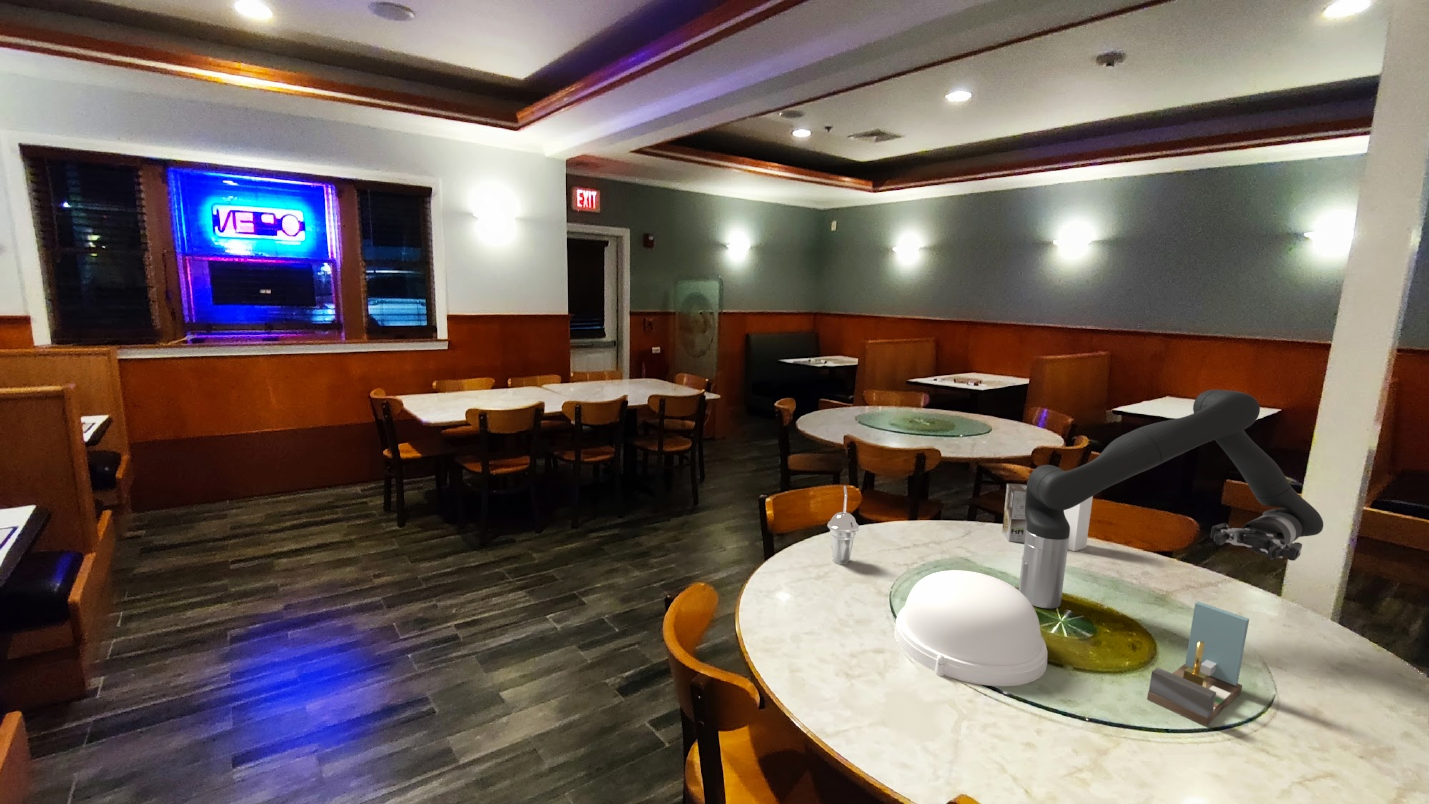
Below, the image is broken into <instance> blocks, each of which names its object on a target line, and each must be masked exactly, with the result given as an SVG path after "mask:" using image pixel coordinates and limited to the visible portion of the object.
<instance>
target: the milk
mask: <svg viewBox="0 0 1429 804" xmlns="http://www.w3.org/2000/svg"><path fill="white" fill-rule="evenodd" d="M1093 497H1094V495H1093V496H1092V497H1090V498H1088V499H1087V500H1085V501H1083V502H1082V503H1080V504H1078V505H1076V506H1074V507H1072V508H1070V509H1066V510H1064V514H1065V517H1066V519H1067V521H1068V523H1069V525H1070V535H1069V543H1068V550H1069V551H1072V552H1077V551H1082V550H1084V549H1086V548H1087V542H1088V534H1089V527H1090V520H1091V515H1092V514H1091V513H1092V505H1093V499H1094V498H1093Z"/></svg>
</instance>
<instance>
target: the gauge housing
mask: <svg viewBox="0 0 1429 804" xmlns="http://www.w3.org/2000/svg"><path fill="white" fill-rule="evenodd" d="M1187 668H1188V666H1186V665H1185V663H1184V664H1182V665H1181V666H1180V667H1179V668H1177V669H1176V670H1175V671H1174V672H1172V673H1171V672H1169V671H1168V670H1165V669H1163V668H1160V667H1159V666H1158V667H1156V668H1154V669H1153V670H1152V671H1151V675H1150V682H1149V688H1148V692H1147V698H1146V700H1148V701H1150V702H1152V703H1154V704H1156V705H1158V706H1160V707H1162V708H1165V709H1167V710H1169V711H1171V712H1173V713H1176V714H1178V715H1180V716H1182V717H1184V718H1186V719H1188V720H1191V721H1192V722H1195V723H1197V724H1199V725H1201V726H1204V727H1207V725H1209V723H1211V722H1212V721H1213V720H1214V719H1215V718H1216V717H1217V716H1218V715H1219V714H1220V713H1221V712H1222V711H1224V709H1225V708H1227V707H1228V705H1230V704H1231V703H1232V702H1233V701H1234V700H1235V699H1236V698H1237V697H1238V696H1239V695H1240V694H1241V693H1242V690H1243V685H1242V684H1240V683H1239V682H1238V683H1237V684H1236V685H1232V684H1230V683H1227V682H1225V681H1223V680H1220V679H1218V678H1215V677H1213V676H1208V677H1207V683H1206V687H1203V686H1200V685H1198V684H1196V683H1193V682H1191V681H1189V680H1186V679H1184V678H1183V676H1184V670H1185V669H1187ZM1190 668H1191V667H1190ZM1192 669H1193V668H1192ZM1231 701H1232V702H1231Z"/></svg>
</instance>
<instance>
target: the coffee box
mask: <svg viewBox="0 0 1429 804" xmlns="http://www.w3.org/2000/svg"><path fill="white" fill-rule="evenodd" d="M1026 488H1027V484H1022V483H1006V490H1005V491H1006V492H1005V502H1004V511H1003V520H1002V531H1001V532H1002V533H1003V535H1004V536H1005V538H1006V539H1007V540H1008V542H1013V543H1014V542H1015V543H1022V544H1025V536H1026V527H1027V522H1026V518H1025V500H1026Z"/></svg>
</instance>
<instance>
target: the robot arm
mask: <svg viewBox="0 0 1429 804" xmlns="http://www.w3.org/2000/svg"><path fill="white" fill-rule="evenodd" d="M1192 411H1193V413H1191V414H1189V415H1188V414H1187V415H1186V416H1182V417H1178V418H1173V419H1168V420H1163V421H1159V422H1154V423H1150V424H1148V425H1143V426H1141V427H1138V428H1136V429H1134V430H1131V431H1130V432H1127V433H1125V434H1122V435H1121V436H1119V437H1117V438H1115V439H1114V440H1113V441H1111V442H1110V443H1108V445H1107V446H1106V447H1105V448H1104V449H1103V450H1102V452H1100V454H1098V456H1097V457H1096V458H1095V459H1092V460H1091V461H1089V462H1087V463H1085V464H1082V465H1080V466H1078V467H1075V468H1073V469H1070V470H1064V469H1062V468H1060V467H1058V466H1055V465H1053V464H1052V465H1051V464H1042V465H1040V466H1037V467H1036V468H1035V469H1034V470H1032V471H1031V473H1030V475H1029V476H1028V479H1027V483H1026V485H1027V488H1026V500H1025V518H1026V522H1027V527H1026V536H1025V543H1024V547H1023V554H1022V557H1021V567H1020V576H1019V585H1018V590H1019V591H1020V592H1021V593H1022V594H1023V595H1024V596H1025V597H1026V598H1027V599H1028V600H1029V601H1030V603H1031V604H1032V606H1033V607H1038V608H1042V609H1056V608H1059V607H1060V606H1061V604H1062V597H1063V588H1064V580H1065V574H1066V573H1065V572H1066V565H1067V556H1068V550H1069V549H1068V543H1069V535H1070V525H1069V523H1068V521H1067V519H1066V517H1065V514H1064V510H1066V509H1070V508H1072V507H1074V506H1076V505H1078V504H1080V503H1082V502H1083V501H1085V500H1087V499H1088V498H1090V497H1092V496H1093V497H1094V496H1095V495H1097V494H1099V493H1100V492H1102V491H1104V490H1106V489H1108V488H1110V487H1112V486H1115V485H1117V484H1119V483H1121V482H1123V481H1125V480H1127V479H1130V478H1131V477H1134V476H1136V475H1138V474H1140V473H1143V472H1147V471H1149V470H1151V469H1153V468H1155V467H1157V466H1159V465H1162V464H1163V463H1165V462H1168V461H1170V460H1171V459H1174V458H1175V457H1178V456H1180V455H1183V454H1185V453H1187V452H1189V451H1191V450H1193V449H1195V448H1197V447H1200V446H1202V445H1205V444H1207V443H1209V442H1212V441H1215V442H1216V443H1217V444H1218V445H1219V447H1220V448H1221V449H1222V450H1223V451H1224V452H1225V454H1226V455H1227V456H1228V457H1229V460H1231V461H1232V463H1233V465H1234V467H1236V468H1237V470H1238V471H1239V472H1240V474H1241V476H1242V478H1243V479H1244V480H1245V482H1246V484H1247V485H1248V488H1249V489H1250V490H1251V492H1252V494H1253V495H1254V497H1255V498H1256V501H1257V502H1258V503H1259V504H1261V505H1263V506H1266V507H1274V508H1272V509H1268V510H1265V511H1263V513H1262V514H1261V516H1259V517H1257V518H1254V519H1253V520H1250V521H1248V522H1246V523H1245V524H1244V525H1243V526H1242V527H1241V528H1239V527H1237V528H1236V527H1232V528H1230V526H1229V524H1227V523H1219V524H1216V525H1212V527H1211V531H1210V536H1209V538H1211V539H1213V542H1214V543H1215V544H1216V545H1218V546H1222V545H1224V544H1226V543H1230V544H1231V545H1233V546H1240V547H1241V546H1243V547H1244V546H1245V547H1246V548H1248V549H1249V550H1250V551H1252V552H1255V553H1257V554H1260V555H1264V556H1265V555H1266V559H1267V560H1270V561H1272V560H1273V559H1283V558H1284V557H1286V559H1287V560H1289V561H1292V562H1293V561H1296V560H1297V559H1298V558H1299V557H1300V556H1301V553H1302V549H1303V543H1301V542H1299V541H1298V542H1295V541H1296V540H1298V539H1299V538H1304V537H1313V536H1316V535H1319V534H1320V533H1321V532H1322V531H1323V529H1324V520H1323V518H1322V516H1321V515H1320V513H1319V512H1318V511H1317V509H1315V508H1314V506H1313V505H1312V504H1310V503H1309V502H1308V501H1306V499H1304V498H1303V496H1302V495H1300V494H1299V493H1298V492H1297V491H1296V490H1295V489H1294V488H1293V486H1292V485H1291V484H1290V482H1289V480H1288V479H1287V477H1286V476H1285V474H1284V473H1283V471H1282V469H1281V468H1280V466H1279V465H1278V464H1277V463H1276V461H1275V460H1274V459H1273V458H1272V457H1270V456H1269V455H1268V454H1267V452H1265V451H1264V450H1263V449H1262V448H1260V446H1259V445H1258V444H1256V443H1255V441H1253V440H1252V438H1251V437H1250V436H1249V435H1248V434H1247V433H1246V431H1245V430H1246V429H1248V428H1250V427H1251V426H1252V425H1253V424H1254V423H1255V422H1256V421H1257V420H1258V417H1259V415H1260V413H1261V406H1260V403H1259V401H1258V400H1257V399H1256V398H1255V397H1254V396H1252V395H1251V394H1249V393H1245V392H1241V391H1237V390H1227V389H1225V390H1224V389H1209V390H1205V391H1203V392H1201V393H1200V394H1199V395H1198V396H1197V397H1196V398H1195V399H1194V401H1193V406H1192ZM1275 507H1276V508H1275ZM1228 535H1229V538H1228Z"/></svg>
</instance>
